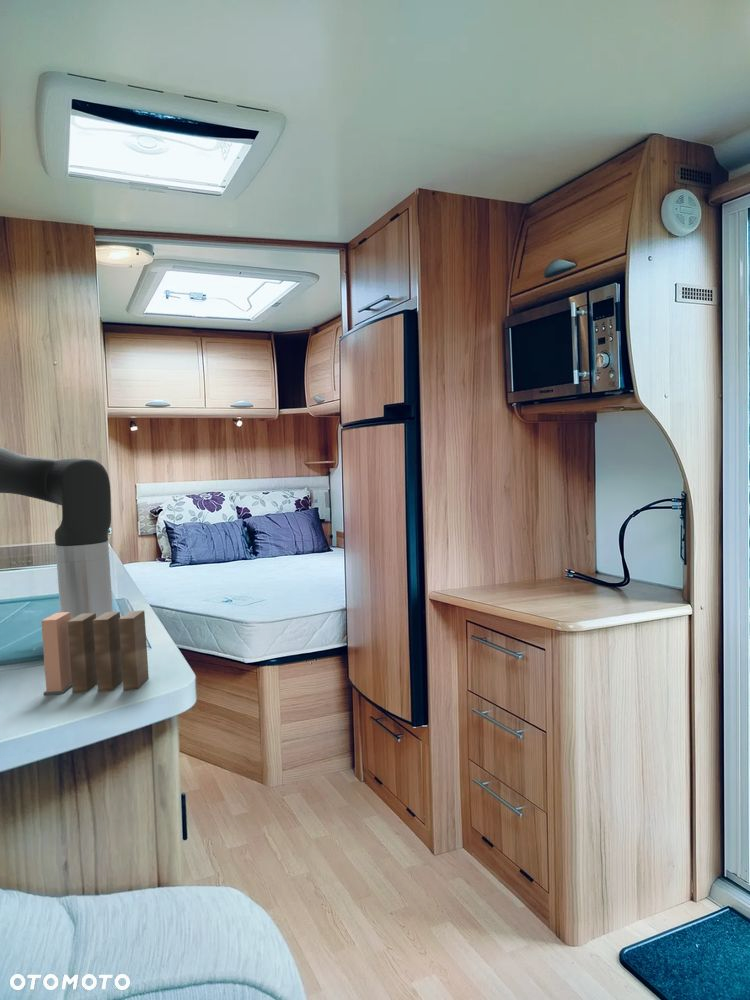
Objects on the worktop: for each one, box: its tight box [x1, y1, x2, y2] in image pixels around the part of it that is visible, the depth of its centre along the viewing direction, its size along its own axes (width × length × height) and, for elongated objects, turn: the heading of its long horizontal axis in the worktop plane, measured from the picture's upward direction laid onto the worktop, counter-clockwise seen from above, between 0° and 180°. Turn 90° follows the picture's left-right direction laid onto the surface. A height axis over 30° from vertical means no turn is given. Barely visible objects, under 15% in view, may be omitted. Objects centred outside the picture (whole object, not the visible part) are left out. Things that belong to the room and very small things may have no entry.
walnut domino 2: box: [93, 611, 123, 692], centre depth 97 cm, size 2×5×10 cm, turn 2°
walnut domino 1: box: [68, 613, 97, 694], centre depth 97 cm, size 2×5×10 cm, turn 2°
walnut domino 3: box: [119, 609, 150, 691], centre depth 97 cm, size 2×5×10 cm, turn 2°
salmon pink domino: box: [41, 612, 72, 692], centre depth 97 cm, size 2×5×10 cm, turn 3°
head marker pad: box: [43, 683, 72, 696], centre depth 97 cm, size 3×6×1 cm, turn 2°
